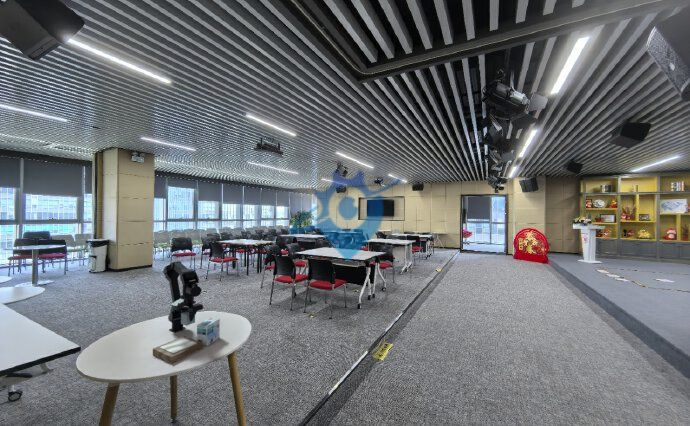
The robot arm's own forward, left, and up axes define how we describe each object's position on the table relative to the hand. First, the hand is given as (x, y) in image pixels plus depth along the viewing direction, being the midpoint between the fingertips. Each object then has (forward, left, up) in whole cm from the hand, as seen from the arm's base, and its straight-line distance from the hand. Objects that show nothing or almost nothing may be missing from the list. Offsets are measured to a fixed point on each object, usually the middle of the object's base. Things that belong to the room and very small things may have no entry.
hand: (188, 320), depth 157 cm
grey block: (0, 0, -2) cm, 2 cm away
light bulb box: (+14, +3, -10) cm, 17 cm away
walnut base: (+11, -12, -10) cm, 19 cm away
